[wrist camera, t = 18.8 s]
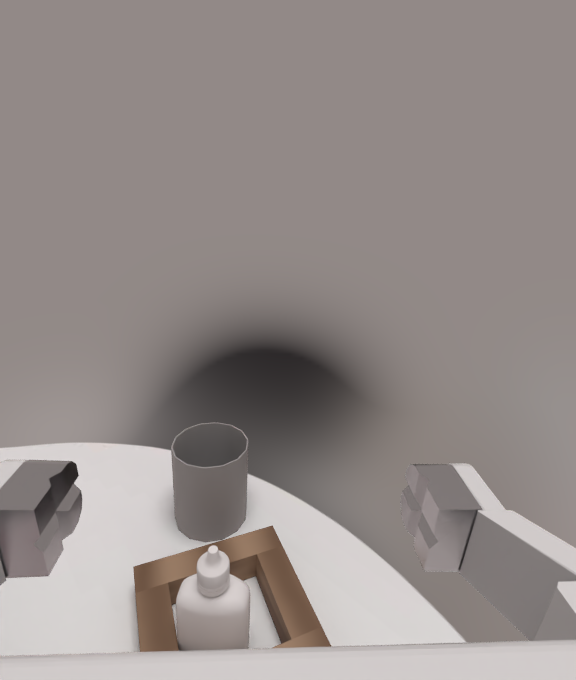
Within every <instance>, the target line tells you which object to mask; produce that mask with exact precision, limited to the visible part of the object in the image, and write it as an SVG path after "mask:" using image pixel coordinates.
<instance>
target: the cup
mask: <svg viewBox="0 0 576 680" xmlns="http://www.w3.org/2000/svg"><path fill="white" fill-rule="evenodd" d="M171 452H172V470H173V488H174V506H175V519H176V522H177V526H178V529H179V530H180V531H181V532H182V533H183V534H184V535H186V536H187V537H188V538H189V539H193V540H198V541H202V542H210V541H216V540H222V539H224V538H226V537H228V536H230V535H231V534H233V533H235V532H236V531H237V530H238V529H239V528H240V526H241V525H242V524H243V522H244V521H245V516H246V501H247V465H248V439H247V437H246V436H245V434H244V433H243V431H242V430H240V429H238V428H236V427H234V426H232V425H229V424H223V423H217V422H215V423H204V424H198V425H196V426H193V427H190V428H187V429H185V430H184V431H182V432H181V433H180V434H179V435H177V436H176V437H175V439H174V442H173V444H172V447H171Z"/></svg>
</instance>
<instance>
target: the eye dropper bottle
mask: <svg viewBox="0 0 576 680" xmlns="http://www.w3.org/2000/svg"><path fill="white" fill-rule="evenodd" d="M176 620H177V638H178V649H179V651H192V650H227V649H248V646H249V620H250V590H249V587H248V585H247V584H246V583H245V582H243V581H242V580H241V579H239V578H237V577H236V576H234V575H231V574H230V561H229V558H228V556H227V555H226V554H225V553H224V552H222V551H220V550H218V547H217V546H215V545H212V546H210V547H209V549H208V552H206V553H204V554H203V555H202V556H201V557H200V558H199V560H198V562H197V574H194V575H192V576H189V577H187V578H186V579H184V581H183V582H182V584H181V586H180V589H179V592H178V595H177V598H176Z"/></svg>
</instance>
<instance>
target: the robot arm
mask: <svg viewBox="0 0 576 680" xmlns="http://www.w3.org/2000/svg"><path fill="white" fill-rule="evenodd" d="M78 476H79V475H78V470H77V465H76V464H75V463H74V462H72V461H48V460H5V461H2V462H0V585H1V584H2V583H4V582H5V581H6V578H18V577H41V576H49V574H50V573H51V571H52V569H53V567H54V565H55V564H56V562H57V560H58V558H59V556H60V555H61V553H62V551H63V544H62V540H63V539H65V538H66V537H67V536H69V535H70V534H72V533H73V531H74V529H75V527H76V525H77V523H78V521H79V517H80V514H81V510H82V494H81V490H80V489H79V488H78V487H77V486H76V485H75V484H74V482H75V480H76V479H77V477H78ZM405 478H406V480H407V482H408V484H409V485H408V486H407V487H406V488H405V489H404V490H403V491H402V496H401V502H400V503H401V515H402V519H403V523H404V526H405V528H406V530H407V532H409V533H410V534H411V535H412V536H414V537H415V541H414V545H413V547H414V549H415V552H416V554H417V556H418V559H419V560H420V563H421V566H422V568H423V570H424V571H449V572H460V573H459V574H460V575H461V576H463V577H464V578H465V579H466V580H467V581H468V582H469V583H470V584H471V585H472V586H473V587H474V588H475V589H476V590H477V591H478V592H479V593H480V594H481V595H482V596H483V597H484V598H486V599H487V600H488V601H489V602H490V603H491V604H492V605H493V606H494V607H495V608H496V609H497V610H498V611H499V612H500V613H501V614H502V615H503V616H504V617H505V618H506V619H508V621H510V622H511V623H512V624H513V625H514V626H515V627H516V628H517V629H518V630H519V631H520V632H521V633H522V634H523V635H524V636H525V637H526V638H527V639H528V640H529V641H509V642H476V643H475V642H471V643H436V644H401V645H367V646H332V647H298V648H263V649H227V650H192V651H157V652H122V653H87V654H52V655H17V656H0V680H576V548H574V547H573V546H571V545H569V544H567V543H566V542H564V541H563V540H561V539H559V538H558V537H556V536H554V535H552V534H551V533H549V532H547V531H546V530H544V529H542V528H541V527H539V526H537V525H535V524H534V523H532V522H531V521H529V520H527V519H526V518H524V517H522V516H521V515H519V514H517V513H515V512H514V511H510V510H505V508H504V507H503V506H502V504H501V503H500V502H499V501H498V499H497V498H496V497H495V495H494V494H493V493H492V492H491V490H490V489H489V488H488V486H487V485H486V484H485V482H484V481H483V480H482V479H481V477H480V476H479V475H478V473H477V472H476V471H475V469H474V468H473V467H472V466H471V465H469V464H410V465H409V467H408V468H407V471H406V476H405Z"/></svg>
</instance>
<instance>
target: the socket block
mask: <svg viewBox="0 0 576 680" xmlns="http://www.w3.org/2000/svg"><path fill="white" fill-rule="evenodd" d="M212 545H215V546H217V547H218V550H220V551H222V552H224V553H225V554H226V555H227V556H228V558H229V561H230V574H231V575H234V576H236V577H237V578H239V579H241V580H245V579H248V578H251V577H254V576H256V578H257V580H258V583H259V586H260V588H261V591H262V593H263V596H264V599H265V601H266V604H267V606H268V609H269V612H270V614H271V617H272V619H273V622H274V625H275V627H276V630H277V632H278V635H279V638H280V640H281V643H282V644H280V645H277V646H275V647H273V648H298V647H331V645H330V643H329V641H328V639H327V637H326V635H325V633H324V631H323V628H322V626H321V624H320V622H319V620H318V618H317V616H316V614H315V612H314V610H313V608H312V606H311V604H310V602H309V600H308V598H307V596H306V594H305V591H304V589H303V587H302V585H301V583H300V581H299V579H298V577H297V575H296V573H295V571H294V569H293V567H292V565H291V563H290V561H289V559H288V557H287V555H286V552H285V550H284V548H283V546H282V544H281V542H280V540H279V538H278V536H277V534H276V532H275V530H274V528H273V526H269V527H266V528H263V529H259V530H256V531H253V532H249V533H246V534H243V535H239V536H236V537H232V538H229V539H226V540H222V541H219V542H216V543H212V544H209V545H205V546H202V547H199V548H195V549H192V550H189V551H185V552H182V553H179V554H175V555H172V556H168V557H165V558H162V559H158V560H155V561H152V562H148V563H145V564H141V565H138V566H135V567H134V580H135V593H136V606H137V618H138V631H139V644H140V652H157V651H179V649H178V643H177V636H176V630H175V624H174V618H173V611H172V605H173V604H176V598H177V595H178V592H179V589H180V586H181V584H182V582H183V581H184V579H186V578H187V577H189V576H192V575H194V574H197V562H198V560H199V558H200V557H201V556H202V555H203V554H204V553H206V552H208V549H209V547H210V546H212Z"/></svg>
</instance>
